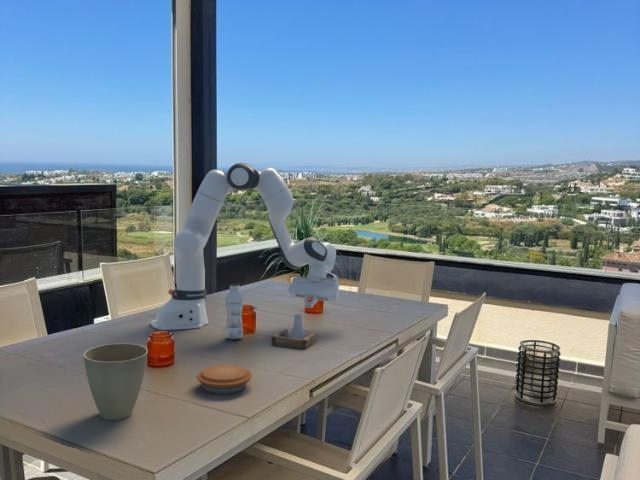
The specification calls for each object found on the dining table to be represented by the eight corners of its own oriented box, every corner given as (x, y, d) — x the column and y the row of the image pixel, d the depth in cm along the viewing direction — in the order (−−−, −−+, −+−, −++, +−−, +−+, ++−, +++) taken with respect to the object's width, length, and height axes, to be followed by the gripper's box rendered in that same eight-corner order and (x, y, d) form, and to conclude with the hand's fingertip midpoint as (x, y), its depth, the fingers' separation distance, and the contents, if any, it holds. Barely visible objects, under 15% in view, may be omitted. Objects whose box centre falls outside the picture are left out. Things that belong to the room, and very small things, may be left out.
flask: (293, 344, 208) (293, 317, 207) (284, 339, 215) (285, 313, 214) (310, 342, 212) (311, 316, 211) (301, 337, 218) (302, 311, 217)
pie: (242, 400, 156) (242, 382, 155) (187, 394, 158) (187, 377, 158) (258, 380, 171) (258, 364, 170) (208, 376, 174) (208, 359, 173)
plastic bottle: (246, 339, 214) (247, 285, 212) (232, 342, 209) (233, 287, 207) (235, 335, 218) (236, 283, 216) (221, 338, 213) (221, 285, 211)
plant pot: (70, 420, 139) (69, 356, 138) (112, 399, 153) (112, 340, 152) (120, 431, 134) (120, 364, 132) (160, 408, 148) (160, 348, 146)
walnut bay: (305, 349, 204) (305, 340, 203) (271, 344, 208) (271, 336, 208) (316, 340, 214) (316, 332, 214) (284, 336, 219) (284, 329, 218)
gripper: (292, 271, 233) (281, 299, 225) (340, 276, 227) (331, 305, 218) (295, 280, 238) (285, 308, 230) (343, 285, 231) (334, 314, 223)
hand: (308, 307), depth 224 cm, fingers closed
